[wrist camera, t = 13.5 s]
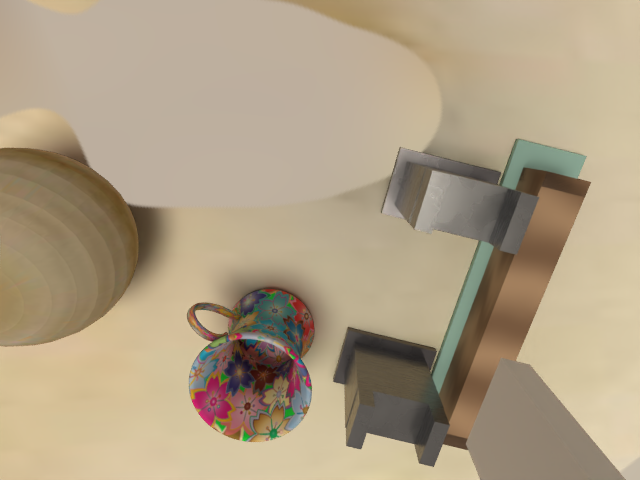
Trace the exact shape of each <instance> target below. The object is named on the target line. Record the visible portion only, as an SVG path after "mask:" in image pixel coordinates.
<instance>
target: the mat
mask: <svg viewBox="0 0 640 480" xmlns="http://www.w3.org/2000/svg"><path fill="white" fill-rule="evenodd" d="M586 157H587V156H583V155H579V154H575V153H571V152H567V151H563V150H559V149H555V148H551V147H547V146H544V145H540V144H536V143H532V142H528V141H524V140H520V139H516V141H515V144H514V147H513V150H512V152H511V155H510V158H509V161H508V163H507V166H506V169H505V172H504V175H503V177H502V180H501V183H500V185H501V186H504V187H508V188H511V189H514V190H515V189H516V186H517V184H518V181H519V178H520V176H521V173H522V170H523V168H524V167H525V168H531V169H537V170H543V171H548V172H552V173H556V174H560V175H564V176H568V177H572V178H576V179H577V178H578V176H579V174H580V171H581V169H582V166H583V164H584V161H585V159H586ZM493 248H494V246H493V245H491V244H490V243H488V242H484V241H479V244H478V246H477V249H476V252H475V255H474V257H473V260H472V263H471V266H470V268H469V271H468V274H467V277H466V280H465V282H464V285H463V288H462V291H461V293H460V296H459V299H458V302H457V304H456V307H455V310H454V313H453V315H452V318H451V321H450V324H449V326H448V329H447V332H446V335H445V338H444V340H443V343H442V346H441V349H440V351H439V354H438V357H437V360H436V362H435V365H434V368H433V371H432V373H431V376H432V378H433V381H434V384H435V386H436V389H437V391H438V394H439V393H440V390H441V387H442V385H443V382H444V379H445V377H446V374H447V371H448V369H449V366H450V363H451V361H452V358H453V355H454V352H455V350H456V347H457V344H458V342H459V339H460V336H461V334H462V331H463V328H464V326H465V323H466V320H467V318H468V315H469V312H470V310H471V307H472V304H473V302H474V299H475V296H476V294H477V291H478V288H479V285H480V283H481V280H482V277H483V275H484V272H485V269H486V267H487V264H488V261H489V259H490V256H491V253H492V251H493Z"/></svg>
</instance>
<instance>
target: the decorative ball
mask: <svg viewBox="0 0 640 480" xmlns="http://www.w3.org/2000/svg"><path fill="white" fill-rule="evenodd" d="M0 236H1V241H0V346H5V347H7V346H29V345H38V344H43V343H49V342H53V341H55V340H58V339H61V338H64V337H66V336H69V335H72V334H74V333H77V332H80V331H81V330H83V329H84V328H86V327H88V326H89V325H91V324H93V323H94V322H95V321H97V320H98V319H100V318H101V317H103V316H104V315H105V314H106V313H107V312H108V311H109V310H110V309H111V308H112V307H113V306H114V305H115V304H116V303H117V302H118V300H119V299H120V298H121V297H122V295H123V294H124V292H125V291H126V289H127V287H128V286H129V284H130V282H131V279H132V277H133V274H134V271H135V268H136V264H137V261H138V248H139V242H138V233H137V227H136V223H135V220H134V218H133V215H132V213H131V210H130V208H129V207H128V205H127V204H126V202H125V201H124V199H123V198H122V196H121V194H120V193H119V192H118V191H117V190H116V189H115V188H114V187H113V186H112V185H111V184H110V183H109V182H108V181H107V180H106V179H105V178H103V177H102V176H101V175H99V174H98V173H97V172H96V171H94V170H93V169H91V168H89V167H87V166H86V165H84V164H82V163H80V162H78V161H77V160H74V159H72V158H69V157H66V156H63V155H61V154H58V153H53V152H48V151H43V150H38V149H28V148H1V149H0Z"/></svg>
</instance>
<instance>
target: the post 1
mask: <svg viewBox="0 0 640 480" xmlns="http://www.w3.org/2000/svg"><path fill="white" fill-rule="evenodd" d="M436 352H437V351H436V349H435V348H431V347H427V346H423V345H419V344H415V343H410V342H406V341H402V340H398V339H394V338H390V337H386V336H382V335H377V334H373V333H369V332H365V331H361V330H357V329H353V328H349V327H348V329H347V333H346V336H345V340H344V343H343V347H342V350H341V354H340V357H339V361H338V364H337V368H336V371H335V375H334V378H333V382H336V383H341V384H345V428H346V446H349V447H353V448H357V449H361V448H362V445H363V442H364V439H365V436H366V433H370V434H374V435H379V436H383V437H387V438H391V439H395V440H399V441H404V442H408V443H412V444H414V445H415V449H416V453H417V457H418V461H419V463H420V464H424V465H428V466H433V467H434V465H435V462H436V460H437V457H438V455H439V452H440V450H441V447H442V445H443V442H444V439H445V437H446V434H447V432H448V429H449V427H450V424H449V421H448V419H447V416H446V414H445V411H444V407H443V404H442V402H441V399H440V397H439V394H438V391H437V389H436V386H435V384H434V381H433V378H432V376H431V373H430V369H431V366H432V363H433V361H434V358H435V355H436Z"/></svg>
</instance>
